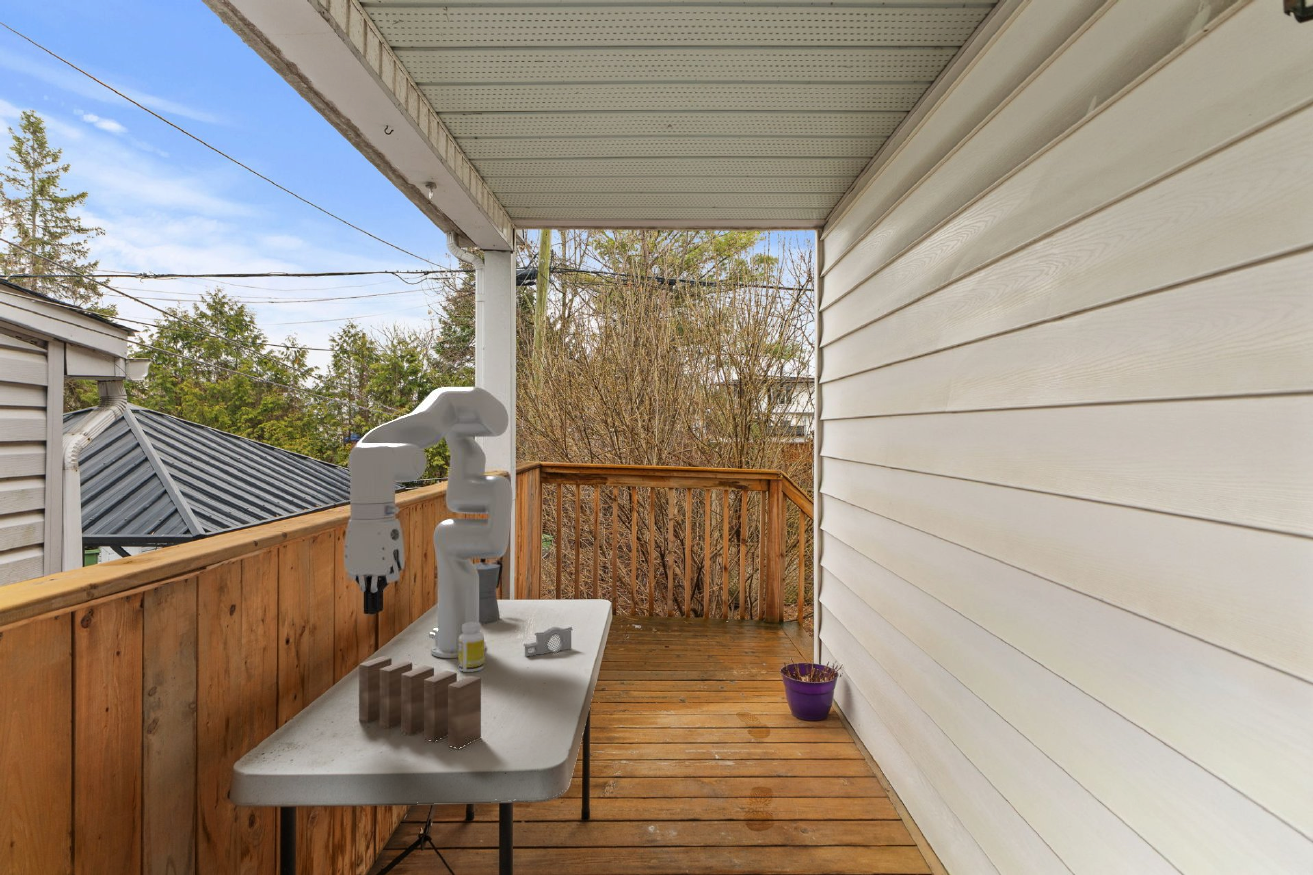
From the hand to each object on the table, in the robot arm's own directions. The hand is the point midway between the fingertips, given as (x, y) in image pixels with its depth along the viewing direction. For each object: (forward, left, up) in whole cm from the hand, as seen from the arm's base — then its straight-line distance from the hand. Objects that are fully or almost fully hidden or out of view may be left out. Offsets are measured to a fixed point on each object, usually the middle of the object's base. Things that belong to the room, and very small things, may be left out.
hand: (373, 612), depth 119 cm
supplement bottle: (-2, +27, -19) cm, 33 cm away
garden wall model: (+6, +44, -19) cm, 48 cm away
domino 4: (+17, 0, -19) cm, 26 cm away
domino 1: (+1, 0, -19) cm, 19 cm away
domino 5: (+23, 0, -19) cm, 30 cm away
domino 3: (+12, 0, -19) cm, 22 cm away
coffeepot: (-29, +60, -19) cm, 69 cm away
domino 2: (+6, 0, -19) cm, 20 cm away
